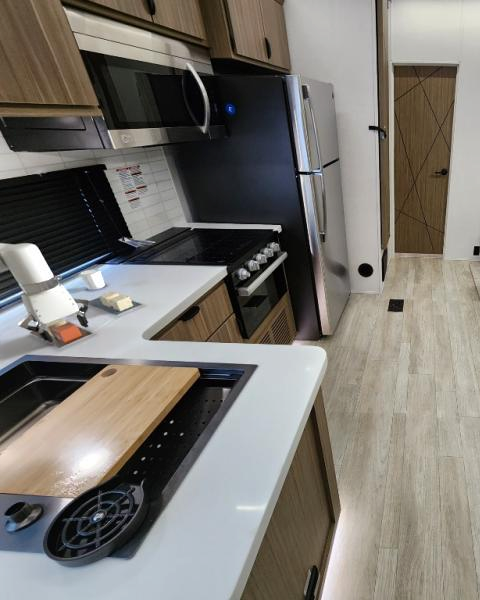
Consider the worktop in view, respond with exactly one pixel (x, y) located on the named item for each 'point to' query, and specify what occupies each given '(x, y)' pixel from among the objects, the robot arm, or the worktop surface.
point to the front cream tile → (53, 325)
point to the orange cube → (67, 332)
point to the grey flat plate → (99, 304)
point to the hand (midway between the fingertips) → (68, 333)
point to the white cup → (92, 279)
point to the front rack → (60, 343)
